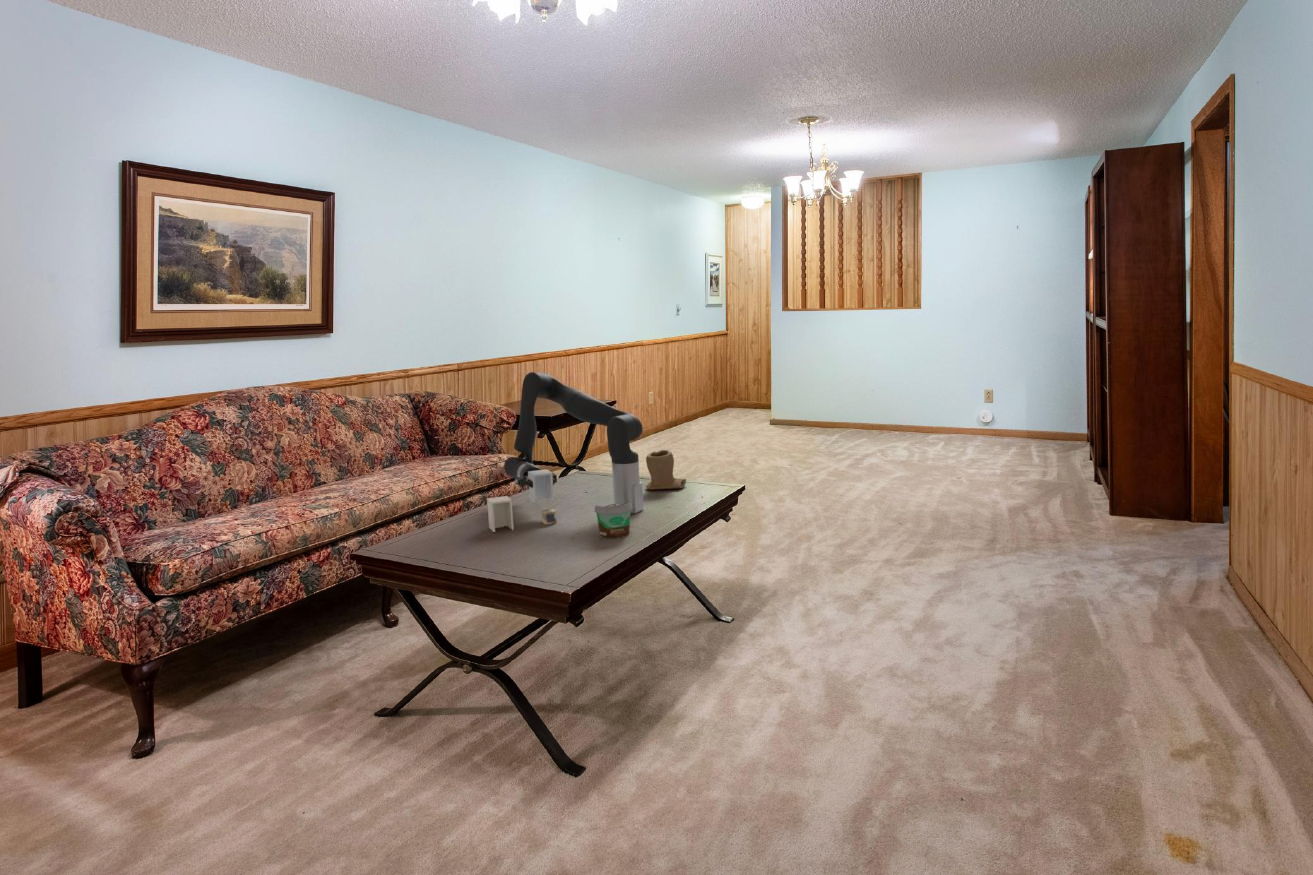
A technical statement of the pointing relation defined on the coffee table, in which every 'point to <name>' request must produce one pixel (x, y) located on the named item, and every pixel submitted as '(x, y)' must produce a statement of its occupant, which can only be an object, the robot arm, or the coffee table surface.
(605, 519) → the food container
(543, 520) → the letter cube
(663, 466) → the brown boot-shaped piece
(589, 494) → the coffee table surface
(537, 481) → the cover
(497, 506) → the cover
